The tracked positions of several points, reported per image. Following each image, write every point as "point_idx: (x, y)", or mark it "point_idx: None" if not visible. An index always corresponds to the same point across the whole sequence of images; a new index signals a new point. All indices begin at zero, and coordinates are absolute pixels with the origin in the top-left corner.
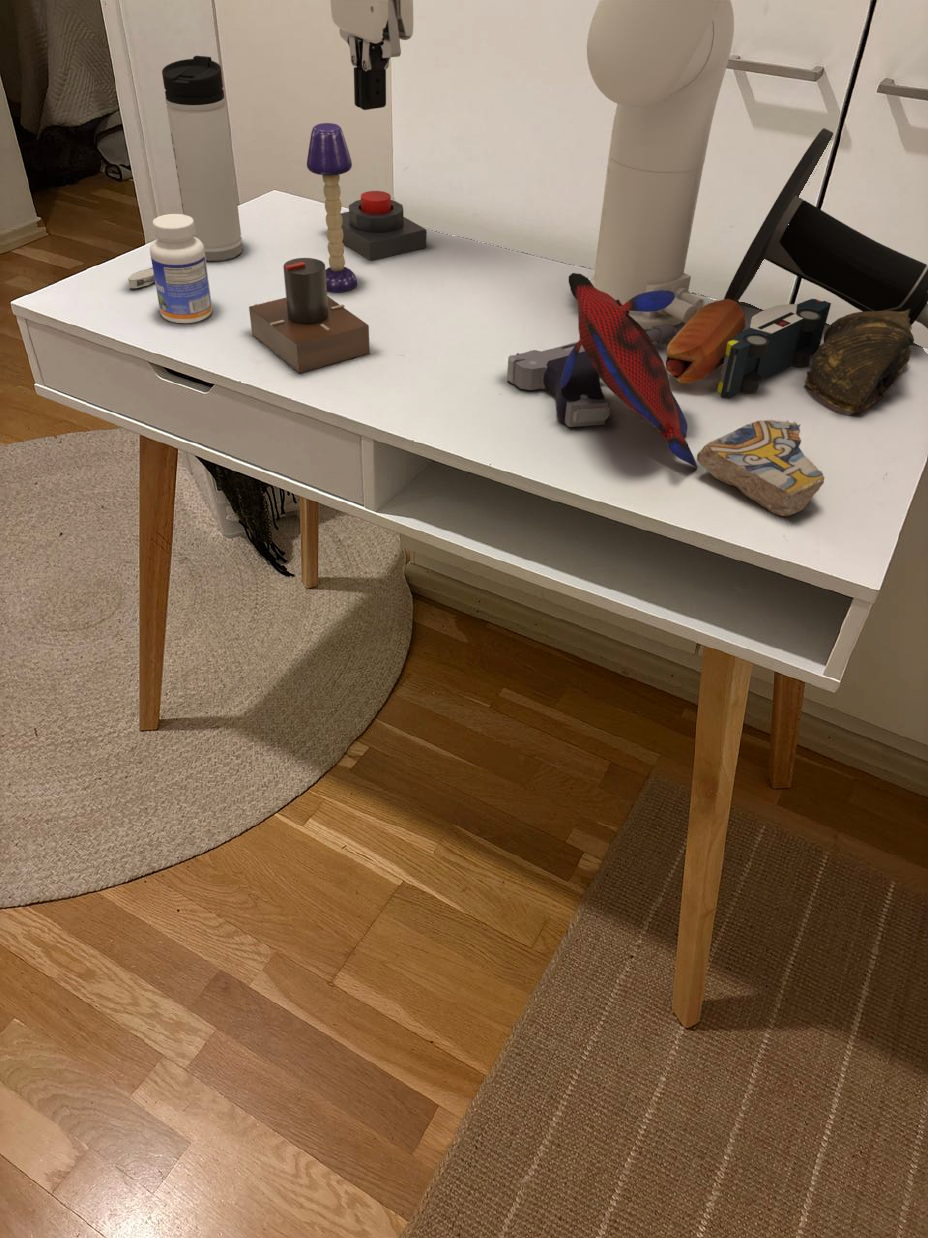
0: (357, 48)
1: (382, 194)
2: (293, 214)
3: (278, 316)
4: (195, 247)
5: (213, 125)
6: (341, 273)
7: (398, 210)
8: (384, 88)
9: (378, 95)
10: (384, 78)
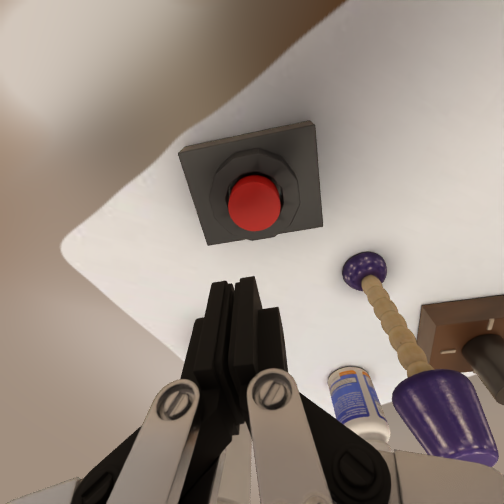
0: (211, 501)
1: (252, 195)
2: (132, 251)
3: (463, 364)
4: (386, 432)
5: (248, 485)
6: (381, 279)
7: (281, 171)
8: (254, 311)
9: (281, 326)
10: (255, 336)
